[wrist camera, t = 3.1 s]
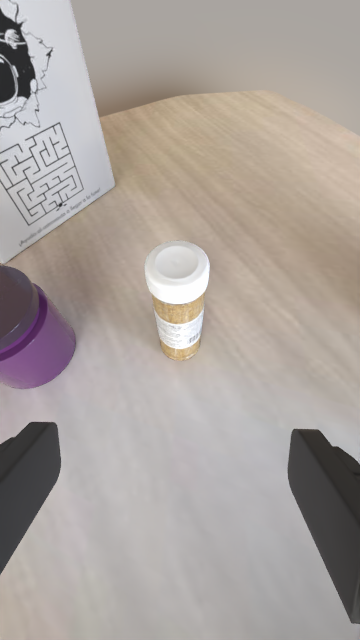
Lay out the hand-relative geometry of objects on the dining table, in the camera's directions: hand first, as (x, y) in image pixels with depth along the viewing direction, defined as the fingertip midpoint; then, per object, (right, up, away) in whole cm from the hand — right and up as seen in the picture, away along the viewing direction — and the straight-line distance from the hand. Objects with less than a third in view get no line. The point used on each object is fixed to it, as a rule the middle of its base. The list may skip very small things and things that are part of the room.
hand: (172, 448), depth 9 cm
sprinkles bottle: (0, +2, +21) cm, 21 cm away
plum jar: (-16, +1, +21) cm, 26 cm away
